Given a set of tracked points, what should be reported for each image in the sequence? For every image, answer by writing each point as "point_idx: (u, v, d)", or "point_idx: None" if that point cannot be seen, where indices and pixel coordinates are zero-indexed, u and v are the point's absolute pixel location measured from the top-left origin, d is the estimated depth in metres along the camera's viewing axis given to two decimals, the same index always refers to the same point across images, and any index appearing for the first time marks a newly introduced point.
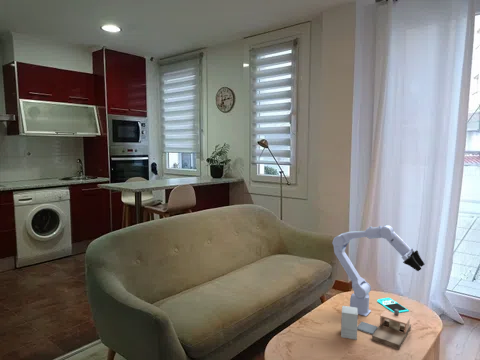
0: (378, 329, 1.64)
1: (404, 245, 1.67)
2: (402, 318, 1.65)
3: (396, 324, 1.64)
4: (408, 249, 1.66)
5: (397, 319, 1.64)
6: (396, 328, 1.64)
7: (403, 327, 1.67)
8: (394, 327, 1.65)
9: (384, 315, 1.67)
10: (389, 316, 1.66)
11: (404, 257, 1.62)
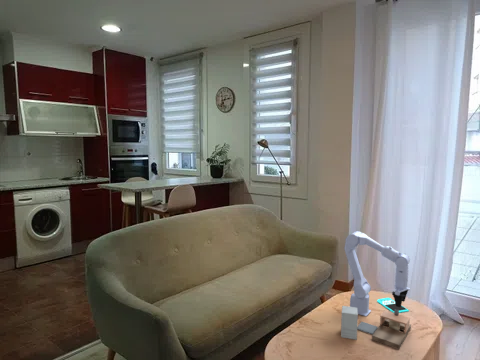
0: (378, 329, 1.64)
1: (405, 282, 1.68)
2: (402, 318, 1.65)
3: (396, 324, 1.64)
4: (405, 287, 1.69)
5: (397, 319, 1.64)
6: (396, 328, 1.64)
7: (403, 327, 1.67)
8: (394, 327, 1.65)
9: (384, 315, 1.67)
10: (389, 316, 1.66)
11: (397, 292, 1.66)
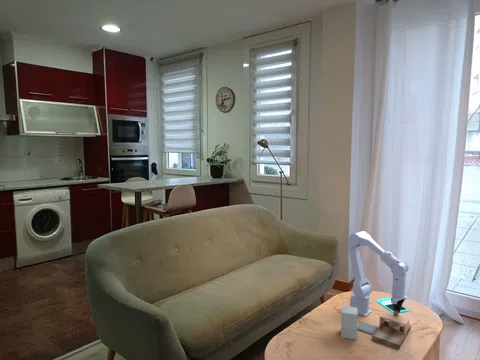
0: (378, 329, 1.64)
1: (402, 290, 1.65)
2: (402, 319, 1.64)
3: (396, 324, 1.64)
4: (402, 295, 1.65)
5: (396, 320, 1.63)
6: (396, 328, 1.64)
7: (403, 327, 1.67)
8: (394, 327, 1.65)
9: (383, 316, 1.67)
10: (388, 317, 1.66)
11: (394, 301, 1.62)
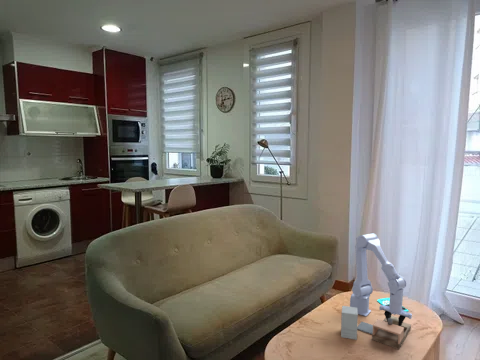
0: (378, 329, 1.64)
1: (391, 304, 1.65)
2: (396, 328, 1.56)
3: (396, 324, 1.64)
4: (390, 309, 1.65)
5: (390, 329, 1.55)
6: None
7: None
8: None
9: (377, 325, 1.59)
10: (382, 326, 1.58)
11: None
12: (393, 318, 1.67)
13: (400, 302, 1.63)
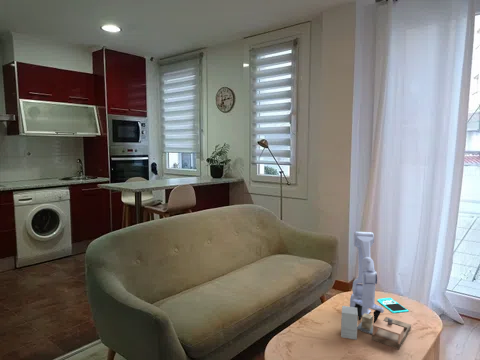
0: (378, 329, 1.64)
1: (363, 298, 1.66)
2: (396, 328, 1.56)
3: (368, 321, 1.66)
4: (363, 303, 1.66)
5: (390, 329, 1.55)
6: (368, 325, 1.66)
7: None
8: (366, 324, 1.66)
9: (377, 325, 1.59)
10: (382, 326, 1.58)
11: None
12: (366, 315, 1.68)
13: (368, 296, 1.64)
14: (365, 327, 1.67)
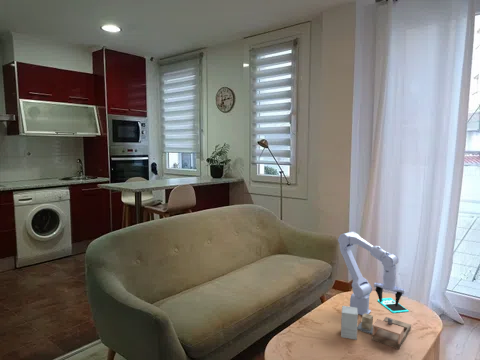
0: (378, 329, 1.64)
1: (384, 280, 1.71)
2: (396, 328, 1.56)
3: (368, 321, 1.66)
4: (384, 285, 1.71)
5: (390, 329, 1.55)
6: (368, 325, 1.66)
7: None
8: (366, 324, 1.66)
9: (377, 325, 1.59)
10: (382, 326, 1.58)
11: None
12: (366, 315, 1.68)
13: (394, 278, 1.69)
14: (365, 327, 1.67)
